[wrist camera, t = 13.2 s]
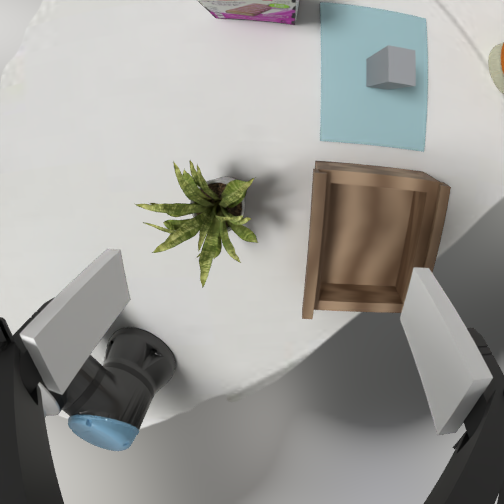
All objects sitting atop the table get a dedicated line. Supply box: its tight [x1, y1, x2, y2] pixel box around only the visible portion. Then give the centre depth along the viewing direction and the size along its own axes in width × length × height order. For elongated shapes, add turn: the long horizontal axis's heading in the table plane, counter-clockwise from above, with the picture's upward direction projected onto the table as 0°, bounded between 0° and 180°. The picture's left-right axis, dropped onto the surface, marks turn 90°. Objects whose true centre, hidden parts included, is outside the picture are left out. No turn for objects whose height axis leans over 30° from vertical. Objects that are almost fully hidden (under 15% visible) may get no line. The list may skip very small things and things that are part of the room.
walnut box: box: [302, 161, 451, 319], centre depth 42 cm, size 17×20×8 cm
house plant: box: [135, 161, 258, 288], centre depth 38 cm, size 14×14×16 cm
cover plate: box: [320, 2, 428, 152], centre depth 31 cm, size 15×20×12 cm
